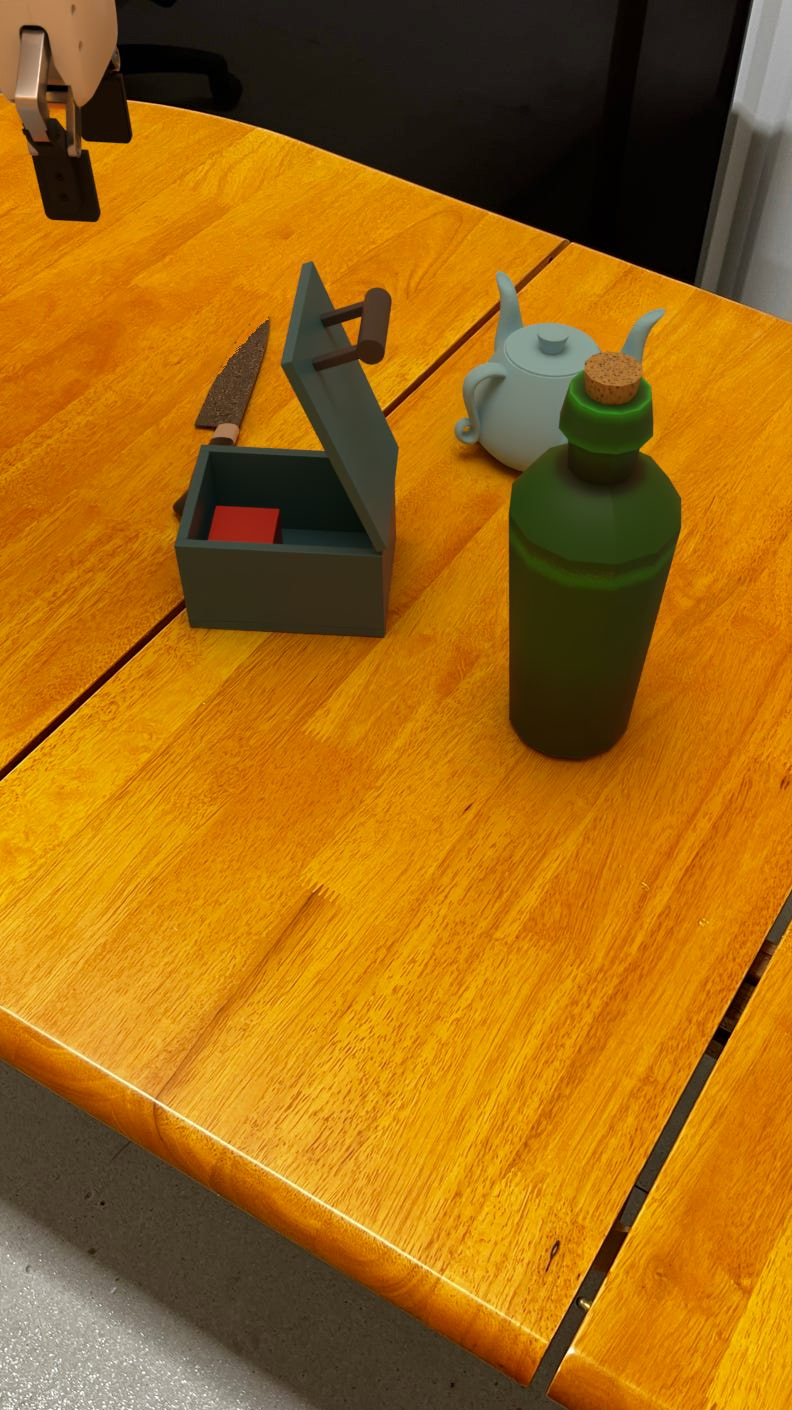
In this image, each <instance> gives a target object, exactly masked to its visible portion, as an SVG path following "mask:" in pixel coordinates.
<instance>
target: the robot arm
mask: <svg viewBox="0 0 792 1410" xmlns="http://www.w3.org/2000/svg"><path fill="white" fill-rule="evenodd" d="M117 15H118V14H117V7H116V0H0V90H1V93H2V96H3V97H4V98H5V100H6V101H7V102H9V103H10V104H14V105H15V109H16V111H17V114H18V116H19V118H20V120H21V122H22V124H21V125H22V127H23V128H21V131H22V134H23V136H25V139H26V144H27V145H26V146H27V150H28V153H29V155H30V156H31V159H32V164H33V168H34V172H35V176H36V181H37V185H38V189H39V194H40V198H41V202H42V208H43V210H44V215H45V217H46V218H47V219H49V220H51V221H60V222H62V221H63V222H65V221H66V222H78V223H79V222H82V223H97V222H98V221H99V220H100V217H101V215H102V214H101V213H102V210H101V205H100V202H99V197H98V191H97V186H96V181H95V177H94V171H93V166H92V161H91V156H90V155H91V154H90V151H89V149H82V139H83V141H85V142H87V143H103V144H104V143H106V144H122V145H124V144H125V145H126V144H129V143H131V142H132V138H133V135H134V134H133V128H132V122H131V117H130V111H129V105H128V100H127V94H126V93H127V91H126V88H125V82H124V76H123V73H119V72H120V70H121V56H120V55H121V54H120V52H119V49H118V47H117V43H118V36H119V35H118V34H119V30H118V27H119V26H118V17H117ZM48 85H50V86H51V85H52V86H67V91H59V90H58V91H57V90H48ZM50 109H51V110H52V109H53V110H65V127H63V125H62V123H61V122H60V121H59V120H58V118H56V117H51V116H50V113H51V111H50Z"/></svg>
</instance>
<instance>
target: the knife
mask: <svg viewBox="0 0 792 1410" xmlns="http://www.w3.org/2000/svg"><path fill="white" fill-rule="evenodd" d="M269 333H270V319H269V320H266V321H265V323H263V324H261V325H260V326H259V328H258V327H257V329H256V331H255V332H254V333H252V334H251V336H249V337H248V340H247V341H246V343H244V344H242V345H241V346H239V347H241V348H239V347H238V348H239V349H238V350H239V351H238V350H236V351H238V352H236V351H235V352H236V353H235V354H233V356H232V357H231V358H229V360H228V362H227V365H226V366H224V367H225V368H224V367H223V368H224V369H223V370H222V372H221V373H220V374H218V375H217V374H216V375H217V377H216V376H215V377H216V379H215V378H214V380H215V381H214V380H213V382H212V384H211V386H210V388H209V390H208V392H207V394H206V397H205V399H204V401H203V403H202V406H201V408H200V410H199V412H198V414H197V417H196V419H195V422H194V424H193V425H194V426H195V427H209V428H216V429H215V430H214V432H213V434H212V436H211V438H210V439H209V442H208V444H207V445H222V446H236V442H237V439H238V437H239V435H240V428H239V427H240V425H241V423H242V419H243V416H244V413H245V411H246V408H247V406H248V403H249V399H250V397H251V394H252V391H253V388H254V385H255V382H256V380H257V376H258V373H259V370H260V367H261V364H262V361H263V357H264V354H265V351H266V347H267V343H268V338H269ZM236 349H237V348H236ZM237 353H238V354H237ZM194 469H195V466H194V467H193V470H192V474H191V476H190V481H189V484H188V488H187V490H186V491H185V492H184V493H182V495H180V496H179V498H178V499H176V500H175V502H174V503H173V504H172V511H173V512H174V514H175V515H176V516H177V517H178V518H179V519H180V520H181V518H182V514H183V510H184V507H185V503H186V499H187V495H188V492H189V488H190V484H191V480H192V476H193V473H194Z"/></svg>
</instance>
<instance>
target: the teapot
mask: <svg viewBox="0 0 792 1410" xmlns="http://www.w3.org/2000/svg"><path fill="white" fill-rule="evenodd" d="M495 282H496V285H497V288H498V292H499V301H500V303H499V315H498V321H497V325H496V330H495V335H494V341H493V342H494V343H493V354H492V355H491V356H489V359H488V360H487V361H486V362H484V363H481V364H479V365H477V366H475V367H474V368H472V369H471V370H470V371H469V372H468V373H467V374H466V375H465V377H464V379H463V382H462V387H461V388H462V391H461V392H462V399H463V404H464V406H465V410H466V414H467V417H462V418H460V419H459V420H457V422H456V423H455V425H454V428H453V433H454V436H455V439H456V440H457V441H458V442H460V443H461V444H464V445H472V444H475V443H477V442H479V443H480V445H481V447H483V449H484V450H486V452H488V453H489V454H490V455H491V456H492V457H493V458H494V459H496V460H497V461H498V462H500V463H501V464H503V465H504V466H506V467H508V468H510V469H513V470H515V471H518V472H522V473H523V472H524V471H525V470H526V469H527V468H528V467H529V466H530V465H531V464H532V463H533V462H534V461H536V460H537V459H538V458H539V457H540V456H541V455H542V454H544V453H545V452H546V451H547V450H548V449H549V448H551V447H555V446H559V445H563V444H567V443H568V439H567V438H566V437H565V435H564V434H563V433H562V432H561V430H560V429H559V419H560V411H561V408H562V405H563V402H564V399H565V396H566V393H567V390H568V387H569V384H570V381H571V380H572V379H573V378H574V377H575V376H576V375H577V374H579V373H580V372H581V371H582V370H584V367H585V361H586V360H588V359H589V358H590V357H591V356H592V355H594V354H598V353H602V352H603V351H602V349H601V348H600V347H599V345H598V343H596V341H595V340H594V339H593V338H592V337H591V336H590V335H589V334H587V333H586V332H584V331H582V330H580V329H578V328H576V327H574V326H571V325H567V324H562V323H559V322H541V323H534V324H529V325H526V326H524V323H523V318H522V317H523V316H522V314H521V308H520V303H519V299H518V293H517V291H516V286H515V285H514V283H513V280H512V279H511V278H510V276H509V275H508V274H507V273H506V272H504V271H502V270H498V271H496V273H495ZM665 314H666V309H665V308H656V309H652V310H650V311H648V312H646V313H645V314H643V315H642V316H640V317H639V318H638V319H637V320H636V321H635V323H634V324H633V326H632V327H631V328H630V331H629V332H628V335H627V337H626V338H625V341H624V344H623V345H622V348H621V349H620V351H619V353H624V354H626V355H629V356H631V357H634V358H635V359H636V360H637V361H638V362H639V363H640V364H641V365H642V364H643V359H644V351H645V346H646V342H647V339H648V337H649V334H650V332H651V331H652V329H653V328H654V326H655V325H656V324H657V323H659V321H660V320H661V319H662V318H663V317H664V316H665ZM642 366H643V365H642ZM466 428H468V429H467V430H465V429H466ZM464 430H465V431H464Z"/></svg>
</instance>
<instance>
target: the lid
mask: <svg viewBox="0 0 792 1410" xmlns="http://www.w3.org/2000/svg"><path fill="white" fill-rule="evenodd" d="M392 300H393V299H392V295H391V294H390V293H389V291H388V290H386V289H385V288H383V287H378V286H376V287H372V288H370V289H368V290H367V291H366V293H365V294H364V298H363V300H361V301H359V302H355V303H352V304H350V305H345V306H343V307H340V308H337V309H336V308H335V307H334V303H333V302H332V299H331V298H330V295H329V293H328V290H327V289H326V287H325V283H324V282H323V280H322V278H321V276H320V274H319V272H318V269H317V267H316V265H315V262H314V261H313V260H310V261H307V262H303V263H302V264H301V268H300V273H299V278H298V282H297V286H296V291H295V296H294V300H293V303H292V308H291V312H290V313H291V314H290V317H289V322H288V327H287V332H286V335H285V336H286V337H285V342H284V345H283V350H282V355H281V359H280V364H279V365H280V367H281V369H282V371H283V373H284V375H285V377H286V378H287V380H288V383H289V384H290V386H291V389H292V391H293V392H294V394H295V396H296V398H297V400H298V403H299V404H300V406H301V408H302V410H303V411H304V413H305V415H306V417H307V419H308V422H309V423H310V426H311V428H312V429H313V431H314V433H315V435H316V437H317V439H318V441H319V443H320V445H321V447H322V449H323V451H325V452H326V454H327V456H328V458H329V460H330V462H331V464H332V466H333V468H334V470H335V472H336V474H337V476H338V478H339V480H340V481H341V483H342V485H343V487H344V489H345V491H346V493H347V495H348V497H349V499H350V501H351V503H352V505H353V507H354V509H355V511H356V512H357V514H358V516H359V518H360V520H361V522H362V524H363V526H364V528H365V530H366V532H367V534H368V536H369V538H370V540H371V542H372V543H373V545H374V547H375V549H376V551H377V552H380V551H384V550H387V545H388V536H389V528H390V519H391V511H392V502H393V494H394V485H395V486H396V476H397V469H398V466H397V465H398V459H399V451H400V447H399V444H398V442H397V440H396V438H395V436H394V434H393V431H392V429H391V427H390V425H389V422H388V421H387V419H386V416H385V415H384V414H385V413H384V412H383V410H382V408H381V405H380V403H379V401H378V399H377V397H376V395H375V393H374V391H373V388H372V386H371V384H370V381H369V380H368V377H367V376H366V373H365V371H364V368H363V367H362V365H361V363H364V364H366V365H371V366H373V365H378V364H380V363H381V362H382V361H383V359H384V358H385V356H386V355H385V354H386V348H387V341H388V332H389V327H390V320H391V319H390V318H391V311H392V305H393V304H392V303H393V302H392ZM358 318H360V324H359V328H358V336H357V340H356V344H353V345H352V343H351V341H350V338H349V337H348V334H347V332H346V329H345V328H344V325H343V323H346V322H349V321H352V320H356V319H358Z"/></svg>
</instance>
